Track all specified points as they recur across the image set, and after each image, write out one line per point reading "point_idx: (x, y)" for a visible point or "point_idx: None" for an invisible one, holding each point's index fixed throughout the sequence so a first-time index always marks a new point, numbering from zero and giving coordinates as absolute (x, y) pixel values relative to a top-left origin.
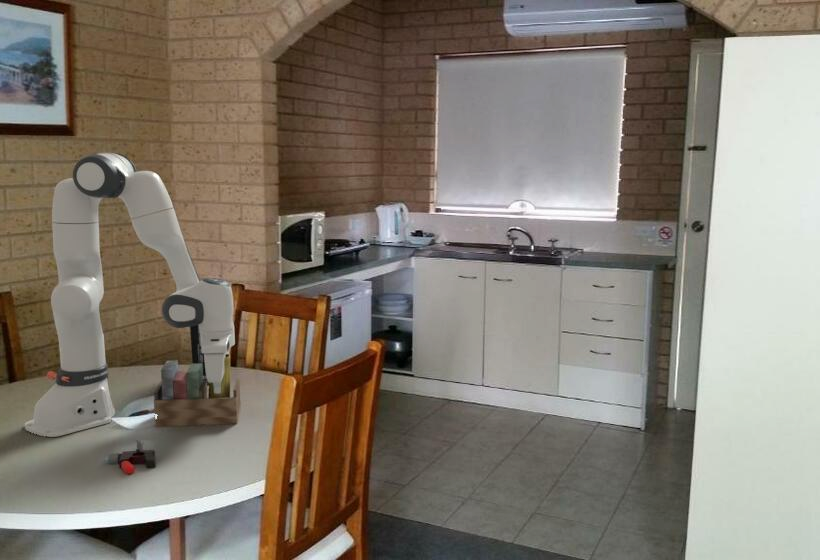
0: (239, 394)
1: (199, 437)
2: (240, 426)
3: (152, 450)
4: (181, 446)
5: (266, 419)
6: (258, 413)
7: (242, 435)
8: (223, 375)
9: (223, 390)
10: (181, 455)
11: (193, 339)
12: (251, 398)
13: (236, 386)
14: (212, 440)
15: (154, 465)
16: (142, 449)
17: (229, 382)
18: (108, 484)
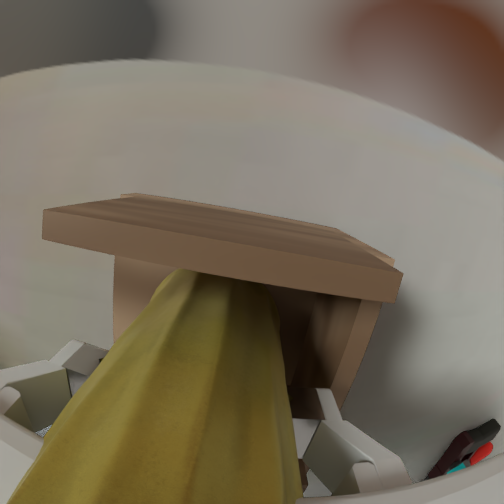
0: (141, 205)
1: (411, 369)
2: (374, 217)
3: (467, 447)
4: (441, 402)
5: (318, 86)
6: (219, 109)
7: (458, 224)
8: (437, 489)
9: (283, 371)
10: (483, 389)
11: None
12: (27, 146)
13: (284, 262)
14: (452, 328)
15: (496, 421)
16: (468, 462)
17: (226, 349)
18: (491, 453)
